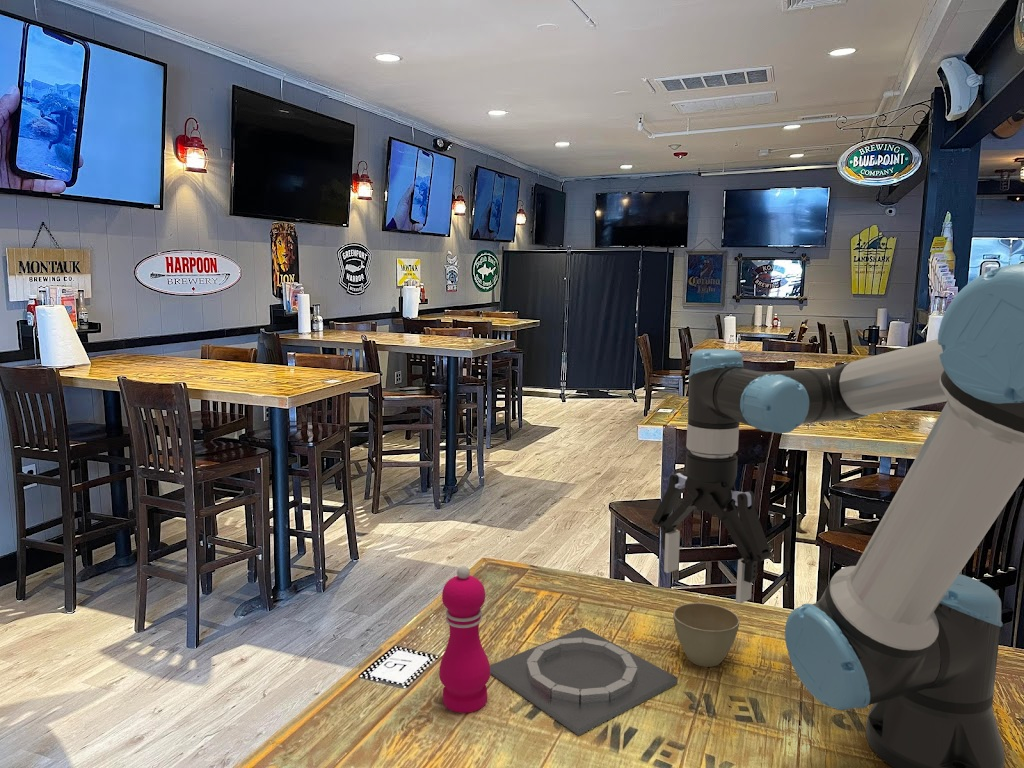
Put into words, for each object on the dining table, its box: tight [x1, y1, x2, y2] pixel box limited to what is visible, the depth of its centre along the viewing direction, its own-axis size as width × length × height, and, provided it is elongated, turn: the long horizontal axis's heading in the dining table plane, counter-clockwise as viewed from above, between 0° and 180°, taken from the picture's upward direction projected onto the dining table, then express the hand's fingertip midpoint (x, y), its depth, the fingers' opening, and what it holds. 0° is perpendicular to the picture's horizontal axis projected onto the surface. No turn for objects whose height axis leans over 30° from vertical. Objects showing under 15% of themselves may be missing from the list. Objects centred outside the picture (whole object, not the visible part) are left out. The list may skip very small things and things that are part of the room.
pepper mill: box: [438, 565, 491, 714], centre depth 103 cm, size 7×7×20 cm
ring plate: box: [490, 627, 679, 737], centre depth 110 cm, size 20×20×2 cm
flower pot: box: [672, 602, 741, 668], centre depth 115 cm, size 10×10×7 cm
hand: (705, 584), depth 114 cm, fingers open, 13 cm apart
